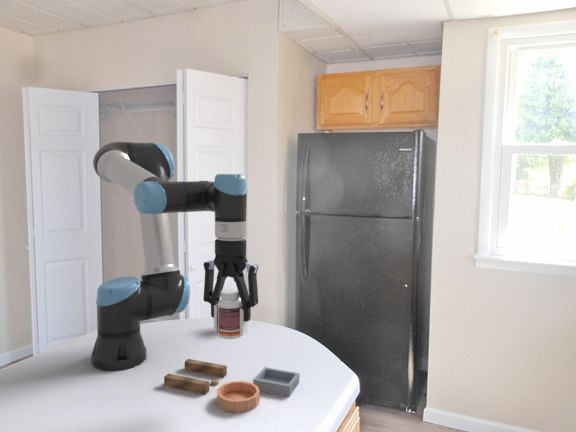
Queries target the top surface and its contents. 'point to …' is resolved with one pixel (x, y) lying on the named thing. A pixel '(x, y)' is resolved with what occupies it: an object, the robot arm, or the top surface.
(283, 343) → the top surface
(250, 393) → the terracotta round dish
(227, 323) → the pill bottle
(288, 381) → the trough
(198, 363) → the cradle
